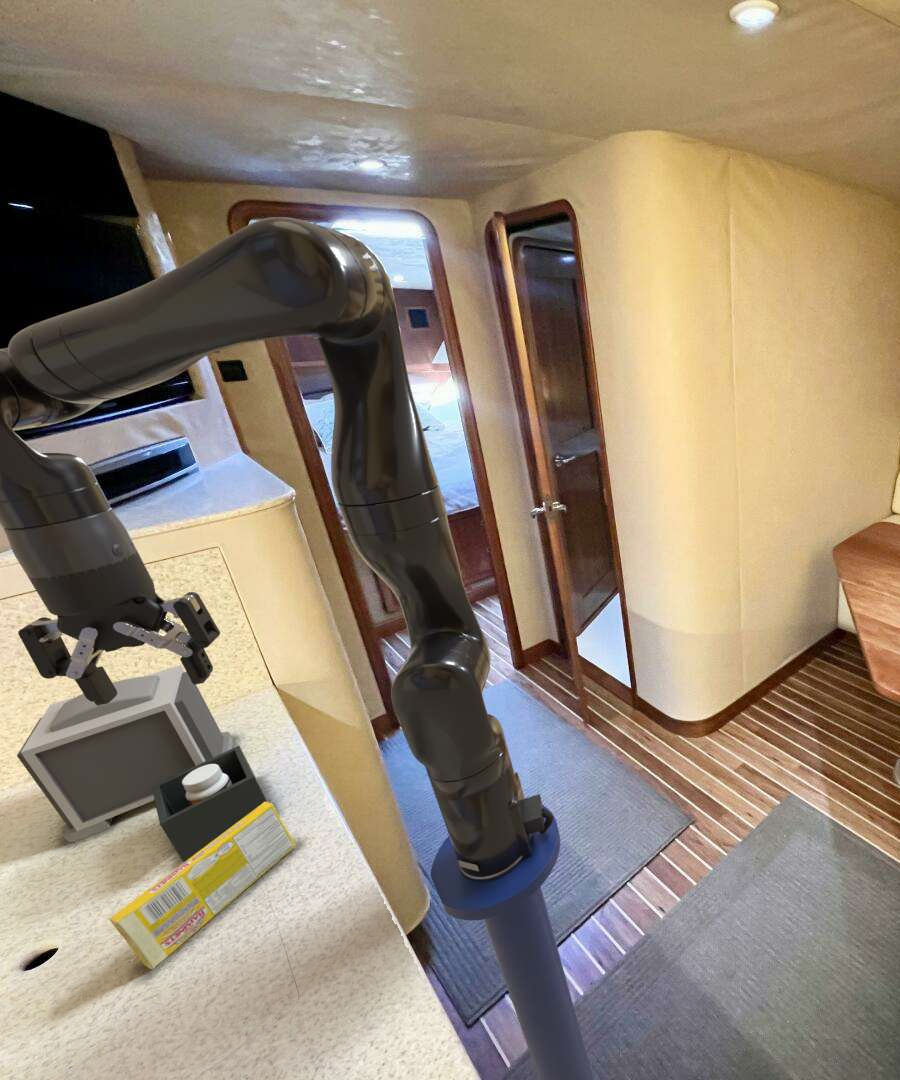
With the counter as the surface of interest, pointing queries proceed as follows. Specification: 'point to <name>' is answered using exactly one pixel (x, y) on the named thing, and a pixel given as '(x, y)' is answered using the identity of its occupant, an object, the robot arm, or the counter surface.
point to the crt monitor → (119, 748)
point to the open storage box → (207, 804)
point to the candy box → (203, 885)
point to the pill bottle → (204, 782)
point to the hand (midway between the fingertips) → (156, 690)
